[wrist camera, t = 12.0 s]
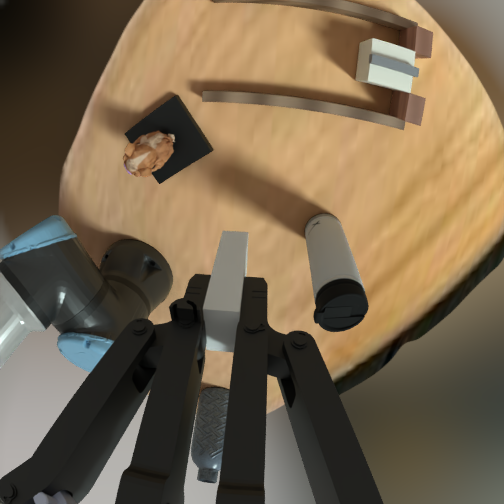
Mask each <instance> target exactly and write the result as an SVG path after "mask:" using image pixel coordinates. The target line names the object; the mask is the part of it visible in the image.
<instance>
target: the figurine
mask: <svg viewBox="0 0 504 504" xmlns="http://www.w3.org/2000/svg"><path fill="white" fill-rule="evenodd" d="M125 135H126V137H127V138H128V140H129V141H130V143H129V144H128V145H127V146H126V148H125V155H124V156H123V160H124V167H125V168H126V170H127V172H128V173H129V174H134V175H135V176H136V177H138V176H142V177H148V176H151V174H152V175H153V176H154V177H155V179H156V180H157V182H158V183H159V184H161V183H162V182H164V181H165V180H167V179H168V178H170V177H171V176H173V175H174V174H176V173H178V172H179V171H181V170H182V169H184V168H186V167H187V166H189V165H190V164H192V163H194V162H195V161H197V160H199V159H200V158H202V157H204V156H205V155H207V154H209V153H210V152H212V151H213V150H214V149H213V148H212V146H211V145H210V143H209V142H208V140H207V138H206V137H205V135H204V134H203V132H202V131H201V129H200V128H199V126H198V125H197V123H196V122H195V120H194V118H193V117H192V115H191V114H190V112H189V111H188V109H187V108H186V106H185V105H184V103H183V102H182V100H181V99H180V97H179V96H178V95H176V96H174V97H172V98H171V99H170V100H168V101H167V102H165V103H164V104H163V105H161V106H160V107H158V108H157V109H156V110H154V111H153V112H152V113H150V114H149V115H148V116H146V117H145V118H144V119H142V120H141V121H140V122H139V123H137V124H136V125H135V126H133V127H132V128H131V129H130V130H128V131H127V132H126V133H125Z"/></svg>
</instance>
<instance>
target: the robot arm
mask: <svg viewBox="0 0 504 504" xmlns="http://www.w3.org/2000/svg"><path fill="white" fill-rule="evenodd" d="M247 252H248V232H236V231H223V232H222V236H221V240H220V243H219V247H218V251H217V255H216V259H215V262H214V266H213V270H212V274H211V275H204V274H195V275H194V276H193V277H192V278H191V279H190V280H189V283H188V286H187V289H186V293H185V295H184V298H181V299H178V300H175V301H174V302H173V303H171V305H170V306H169V309H170V314H171V319H172V321H170V322H168V323H164V324H157V325H153V323H152V322H151V321H150V320H148V317H149V315H150V313H151V312H152V311H153V310H154V309H155V308H156V307H157V306H158V305H159V304H160V303H162V302H163V301H164V300H165V299H166V297H167V296H168V294H169V292H170V289H171V287H172V283H173V275H172V271H171V268H170V266H169V264H168V263H167V261H166V260H165V258H164V257H163V256H162V255H161V254H160V253H159V252H158V251H157V250H155V249H154V248H153V247H151V246H149V245H147V244H145V243H143V242H140V241H136V240H121V241H118V242H116V243H114V244H113V245H111V246H110V248H109V249H108V250H107V251H106V253H105V254H104V256H103V258H102V261H101V265H100V269H98V268H97V266H96V265H95V263H94V262H93V261H92V259H91V258H90V256H89V255H88V253H87V252H86V250H85V249H84V247H83V246H82V244H81V243H80V241H79V240H78V238H77V235H76V233H74V232H73V231H72V229H71V228H70V227H69V225H68V224H67V222H66V221H65V220H64V218H62V217H61V216H59V215H52V216H50V217H48V218H47V219H45V220H44V221H42V222H40V223H39V224H37V225H36V226H34V227H32V228H31V229H29V230H28V231H26V232H25V233H23V234H22V235H20V236H19V237H17V238H16V239H14V240H13V241H12V242H10V243H9V244H7V245H6V246H4V247H3V248H2V249H0V259H2V262H1V263H0V369H1V368H2V366H3V365H4V364H5V362H6V361H7V360H8V358H9V357H10V356H11V355H12V353H13V352H14V351H15V350H16V348H17V347H18V346H19V345H20V343H21V342H22V341H23V340H24V338H25V337H26V336H27V335H28V334H29V333H30V332H32V331H45V330H46V329H47V328H48V327H49V326H50V324H51V323H52V324H53V326H54V327H55V328H56V329H57V330H58V331H59V332H60V334H61V335H59V337H58V342H57V346H58V348H59V350H60V352H61V353H62V355H64V357H65V358H67V359H68V360H69V361H70V362H72V363H73V364H75V365H76V366H78V367H80V368H82V369H84V370H86V371H88V372H91V373H90V374H89V375H88V377H87V378H86V379H85V381H84V382H83V383H82V385H81V386H80V388H79V389H78V390H77V392H76V393H75V394H74V396H73V398H72V399H71V400H70V401H69V403H68V404H67V406H66V407H65V408H64V410H63V411H62V413H61V414H60V416H59V417H58V419H57V420H56V421H55V423H54V424H53V426H52V427H51V429H50V430H49V432H48V433H47V435H46V436H45V437H44V439H43V440H42V442H41V444H40V445H39V447H38V448H37V450H36V451H35V453H34V454H33V456H32V457H31V458H30V459H28V460H27V461H25V462H24V463H23V464H21V465H20V466H18V467H17V468H15V469H14V470H12V471H11V472H9V473H8V474H7V475H5V476H4V477H2V478H1V479H0V504H78V503H79V502H80V501H82V499H83V498H84V497H85V496H86V495H87V494H88V493H89V491H90V490H91V488H92V487H93V485H94V484H95V482H96V480H97V478H98V477H99V475H100V473H101V471H102V470H103V468H104V466H105V465H106V463H107V461H108V459H109V458H110V456H111V454H112V453H113V451H114V449H115V447H116V446H117V444H118V442H119V441H120V439H121V437H122V436H123V434H124V432H125V431H126V429H127V427H128V426H129V424H130V422H131V420H132V419H133V417H134V415H135V414H136V412H137V410H138V409H139V407H140V405H141V404H142V402H143V400H144V399H145V397H146V395H147V394H148V392H149V390H150V393H149V396H148V400H147V403H146V407H145V411H144V414H143V418H142V422H141V425H140V429H139V433H138V437H137V441H136V445H135V449H134V453H133V457H132V461H131V464H130V466H129V467H128V468H127V469H126V470H124V472H123V474H122V476H121V480H120V484H119V488H118V492H117V497H116V501H115V504H184V483H185V476H186V470H187V463H188V457H189V450H190V444H191V438H192V432H193V425H194V420H195V414H196V409H197V403H198V397H199V391H200V386H201V380H202V375H203V369H204V364H205V348H206V347H207V350H214V351H225V352H234V355H233V364H232V373H231V381H230V390H229V399H228V408H227V417H226V426H225V435H224V444H223V453H222V462H221V471H220V481H219V485H218V490H217V497H216V504H265V490H264V469H265V440H266V439H265V438H266V405H267V374H268V375H271V376H274V377H277V380H278V383H279V386H280V390H281V393H282V396H283V399H284V403H285V406H286V409H287V412H288V415H289V419H290V422H291V425H292V428H293V432H294V435H295V438H296V441H297V444H298V448H299V451H300V454H301V457H302V461H303V464H304V467H305V470H306V473H307V476H308V479H309V483H310V486H311V488H312V492H313V495H314V498H315V501H316V504H383V501H382V499H381V496H380V494H379V491H378V489H377V486H376V484H375V481H374V479H373V476H372V474H371V471H370V469H369V466H368V464H367V462H366V459H365V457H364V454H363V452H362V449H361V447H360V445H359V442H358V440H357V437H356V435H355V433H354V430H353V428H352V425H351V423H350V421H349V418H348V416H347V414H346V411H345V409H344V407H343V404H342V402H341V399H340V397H339V395H338V392H337V390H336V388H335V386H334V383H333V381H332V379H331V376H330V374H329V372H328V369H327V367H326V365H325V363H324V360H323V358H322V356H321V353H320V351H319V349H318V347H317V344H316V342H315V340H314V338H313V337H312V336H311V335H310V334H308V333H307V332H304V331H292V332H289V333H288V334H287V335H285V334H282V333H279V332H277V331H275V330H273V329H272V328H271V327H270V326H269V324H268V321H267V283H266V281H265V280H264V278H257V277H246V272H247Z"/></svg>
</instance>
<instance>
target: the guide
mask: <svg viewBox="0 0 504 504" xmlns="http://www.w3.org/2000/svg"><path fill="white" fill-rule="evenodd" d="M212 1H213V2H214V3H220V2H237V3H262V4H275V5H286V6H294V7H302V8H309V9H315V10H321V11H327V12H332V13H337V14H341V15H346V16H350V17H354V18H359V19H362V20H366V21H370V22H373V23H377V24H380V25H384V26H387V27H390V28H393V29H396V30H399V31H400V32H399V44H398V46H401V47H404V48H406V49H409V50H412V51H415V52H416V53H415V59H417V58H431V51H432V39H433V32H431V31H429V30H426V29H424V28H421V27H419V26H417V25H418V23H416V22H414V21H411V20H408V19H406V18H403V17H400V16H397V15H394V14H391V13H388V12H385V11H382V10H378V9H375V8H372V7H368V6H364V5H360V4H357V3H352V2H348V1H344V0H212ZM425 99H426V98H423V97H420V96H417V95H414V94H411V93H407V92H401V91H396V90H393V93H392V99H391V106H390V112H389V115H388V114H384V113H380V112H376V111H371V110H367V109H363V108H358V107H354V106H349V105H344V104H339V103H333V102H328V101H322V100H315V99H309V98H302V97H294V96H286V95H278V94H268V93H256V92H242V91H220V90H206V91H203V96H202V102H228V103H245V104H258V105H269V106H279V107H288V108H296V109H303V110H310V111H317V112H323V113H329V114H334V115H340V116H345V117H350V118H355V119H360V120H365V121H369V122H373V123H378V124H382V125H386V126H390V127H394V128H398V129H401V130H404V126H405V121H406V122H409V123H413V124H416V125H419V126H421V121H422V116H423V110H424V105H425Z"/></svg>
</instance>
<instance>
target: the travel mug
mask: <svg viewBox="0 0 504 504" xmlns="http://www.w3.org/2000/svg"><path fill="white" fill-rule="evenodd" d="M305 237H306V243H307V250H308V256H309V263H310V270H311V277H312V284H313V292H314V298H315V304H316V309H315V311H314V322H315V323H319V325H320V326H321V327H322V328H323V329H325V330H327V331H330V332H340V331H345V330H348V329H350V328H353V327H354V326H356V325H358V324H359V323H360V322H361V321H362V320H363V318H364V317H365V316H364V315H365V314H366V313H367V311H368V301H367V297H366V294H365V289H364V287H363V283H362V280H361V277H360V275H359V272H358V269H357V266H356V263H355V260H354V257H353V255H352V252H351V249H350V247H349V244H348V241H347V238H346V236H345V233H344V231H343V228H342V225H341V223H340V221H339V220H338V219H337V218H336V217H335V216H333V215H330V214H319V215H316V216H314V217H312V218H311V219H310V220H309V221H308V223H307V224H306V227H305Z"/></svg>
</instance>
